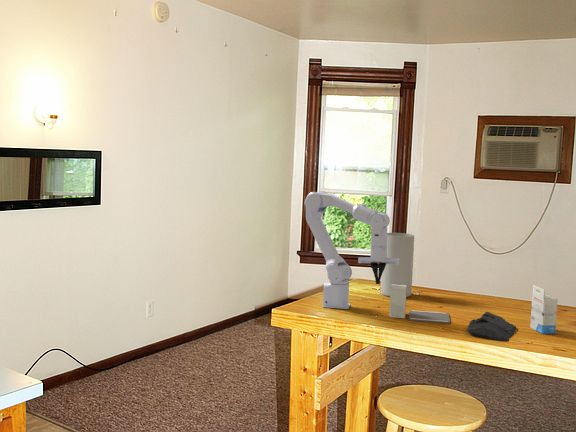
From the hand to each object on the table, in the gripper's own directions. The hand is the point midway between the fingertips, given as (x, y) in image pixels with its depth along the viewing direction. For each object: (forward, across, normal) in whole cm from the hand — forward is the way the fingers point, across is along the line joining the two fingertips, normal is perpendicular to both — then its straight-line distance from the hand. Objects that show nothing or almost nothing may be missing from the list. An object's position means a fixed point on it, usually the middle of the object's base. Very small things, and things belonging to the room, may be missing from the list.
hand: (377, 283), depth 232 cm
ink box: (+12, -55, +9) cm, 57 cm away
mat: (+11, -18, +2) cm, 21 cm away
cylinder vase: (+11, -6, -34) cm, 36 cm away
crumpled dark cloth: (+12, -37, +15) cm, 42 cm away
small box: (+11, -7, +3) cm, 13 cm away
